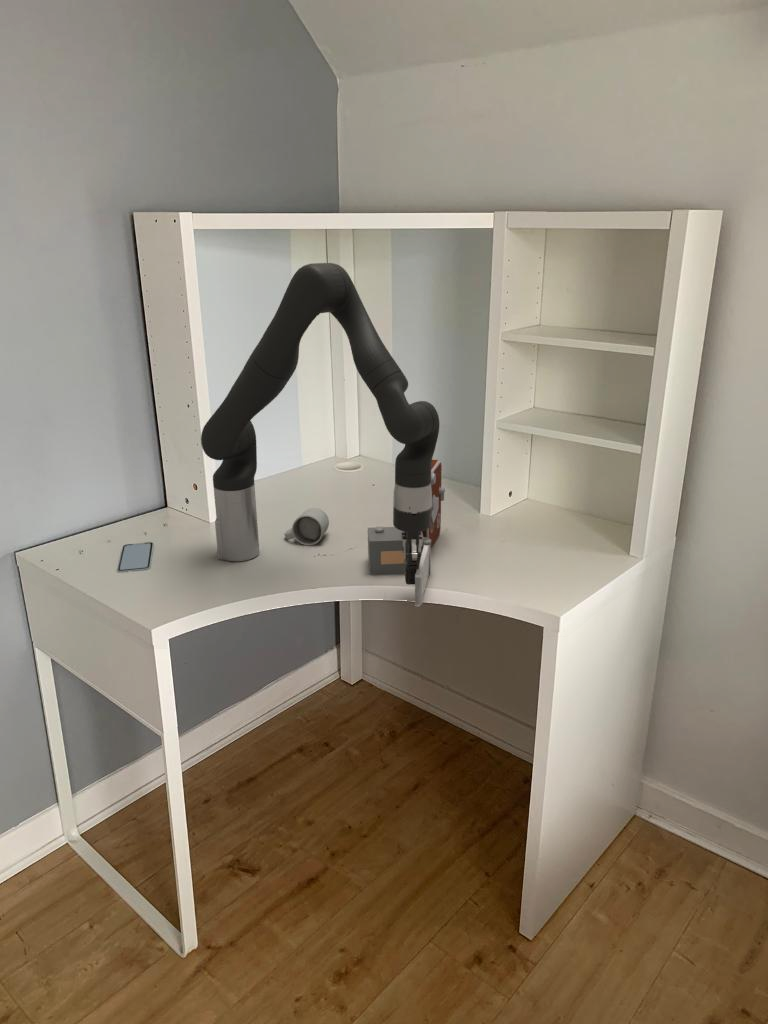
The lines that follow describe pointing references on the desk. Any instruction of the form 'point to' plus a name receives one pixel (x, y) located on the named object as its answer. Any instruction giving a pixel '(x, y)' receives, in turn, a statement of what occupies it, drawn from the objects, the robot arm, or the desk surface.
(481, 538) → the desk surface
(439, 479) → the cine camera
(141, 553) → the smartphone
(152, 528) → the desk surface
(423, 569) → the side door
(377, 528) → the block
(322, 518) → the ceramic mug
